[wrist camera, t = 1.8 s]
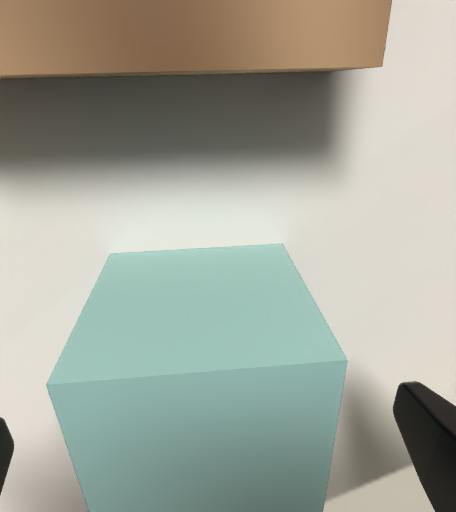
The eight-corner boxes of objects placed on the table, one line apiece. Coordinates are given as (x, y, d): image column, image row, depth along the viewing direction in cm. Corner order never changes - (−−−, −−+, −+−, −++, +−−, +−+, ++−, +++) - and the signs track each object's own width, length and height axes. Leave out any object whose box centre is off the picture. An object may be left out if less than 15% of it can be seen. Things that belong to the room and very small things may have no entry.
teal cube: (282, 242, 11) (347, 359, 6) (276, 369, 13) (320, 524, 8) (110, 252, 10) (45, 384, 6) (134, 381, 12) (101, 549, 8)
